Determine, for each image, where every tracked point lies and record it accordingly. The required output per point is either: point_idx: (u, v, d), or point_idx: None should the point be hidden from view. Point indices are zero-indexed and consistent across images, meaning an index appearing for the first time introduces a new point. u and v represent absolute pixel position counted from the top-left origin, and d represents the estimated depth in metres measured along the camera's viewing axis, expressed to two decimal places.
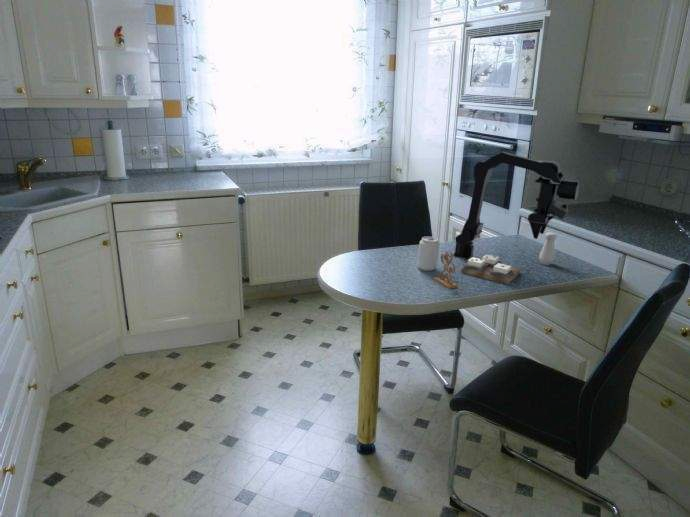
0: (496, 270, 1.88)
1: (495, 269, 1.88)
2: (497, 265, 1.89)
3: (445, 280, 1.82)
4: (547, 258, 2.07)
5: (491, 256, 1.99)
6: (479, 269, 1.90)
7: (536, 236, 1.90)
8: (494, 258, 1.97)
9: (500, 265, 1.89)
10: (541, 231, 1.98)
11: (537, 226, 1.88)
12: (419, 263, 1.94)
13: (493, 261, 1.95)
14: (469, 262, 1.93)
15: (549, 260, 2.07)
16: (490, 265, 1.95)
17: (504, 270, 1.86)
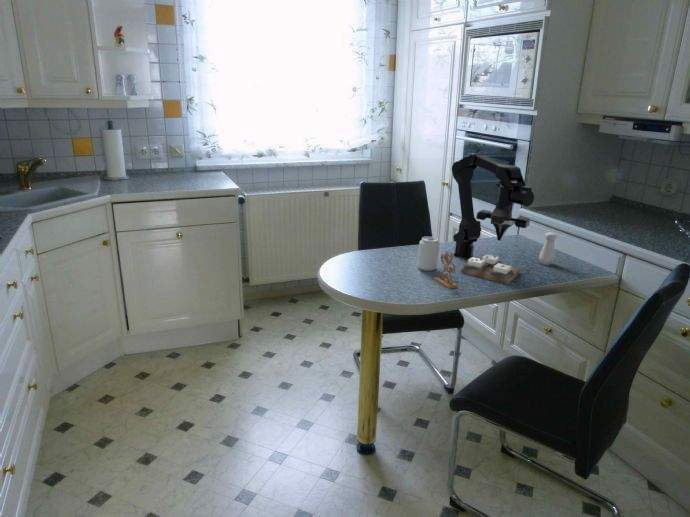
0: (496, 270, 1.88)
1: (495, 269, 1.88)
2: (497, 265, 1.89)
3: (445, 280, 1.82)
4: (547, 258, 2.07)
5: (491, 256, 1.99)
6: (479, 269, 1.90)
7: None
8: (494, 258, 1.97)
9: (500, 265, 1.89)
10: None
11: None
12: (419, 263, 1.94)
13: (493, 261, 1.95)
14: (469, 262, 1.93)
15: (549, 260, 2.07)
16: (490, 265, 1.95)
17: (504, 270, 1.86)
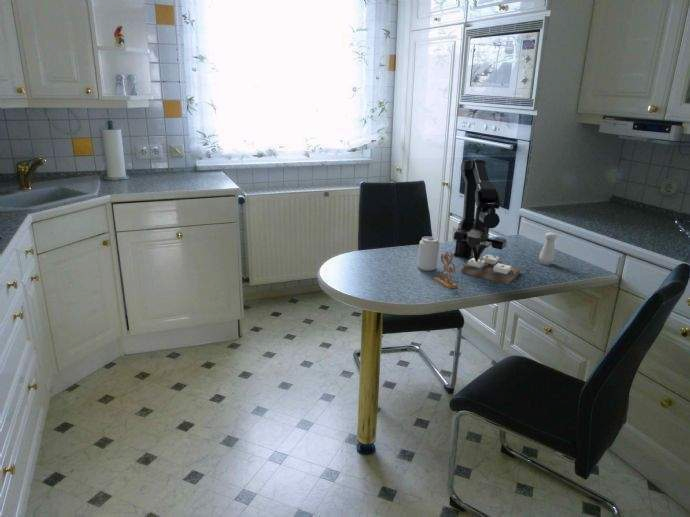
0: (496, 270, 1.88)
1: (495, 269, 1.88)
2: (497, 265, 1.89)
3: (445, 280, 1.82)
4: (547, 258, 2.07)
5: (491, 256, 1.99)
6: (479, 269, 1.90)
7: None
8: (494, 258, 1.97)
9: (500, 265, 1.89)
10: None
11: None
12: (419, 263, 1.94)
13: (493, 261, 1.95)
14: (469, 263, 1.93)
15: (549, 260, 2.07)
16: (490, 265, 1.95)
17: (504, 270, 1.86)
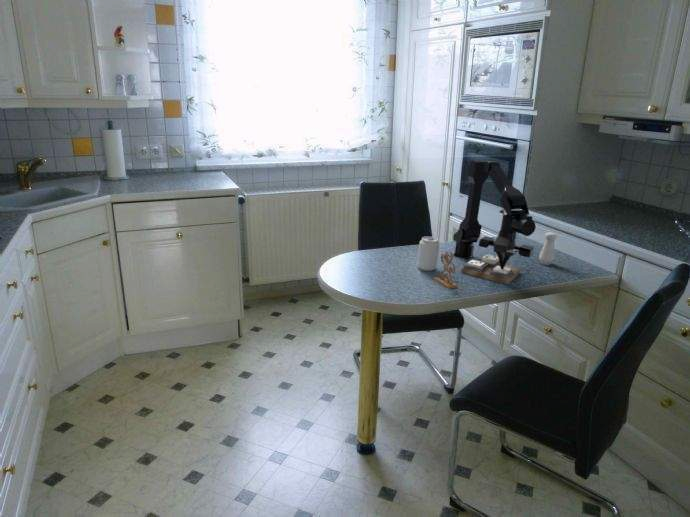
0: None
1: None
2: (497, 267, 1.89)
3: (445, 280, 1.82)
4: (547, 258, 2.07)
5: (491, 256, 1.99)
6: (479, 269, 1.90)
7: None
8: (494, 258, 1.97)
9: (500, 267, 1.90)
10: None
11: None
12: (419, 263, 1.94)
13: (493, 261, 1.95)
14: None
15: (549, 260, 2.07)
16: (490, 265, 1.95)
17: (503, 272, 1.86)
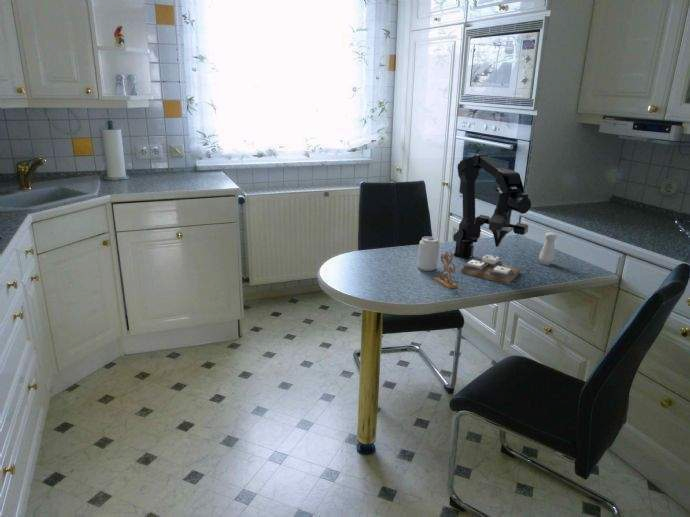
0: None
1: None
2: (497, 268, 1.90)
3: (445, 280, 1.82)
4: (547, 258, 2.07)
5: (491, 256, 1.99)
6: (479, 269, 1.90)
7: None
8: (494, 258, 1.97)
9: (500, 268, 1.90)
10: None
11: None
12: (419, 263, 1.94)
13: (493, 261, 1.95)
14: None
15: (549, 260, 2.07)
16: (490, 265, 1.95)
17: (503, 272, 1.86)
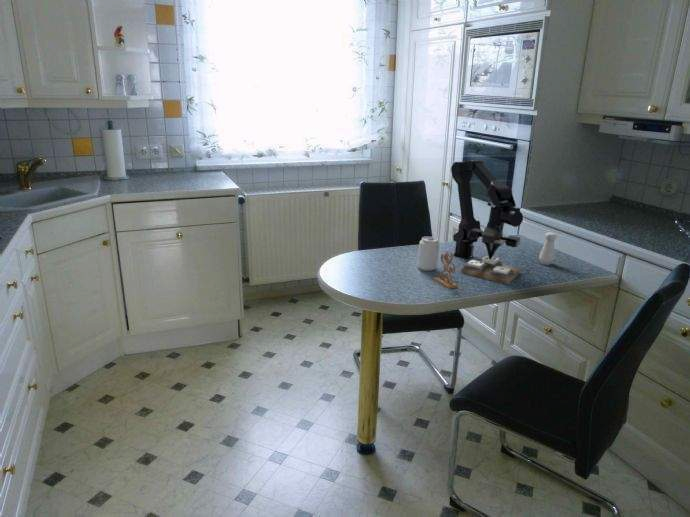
0: None
1: None
2: (497, 268, 1.90)
3: (445, 280, 1.82)
4: (547, 258, 2.07)
5: None
6: (479, 269, 1.90)
7: None
8: (494, 259, 1.97)
9: (500, 268, 1.90)
10: None
11: None
12: (419, 263, 1.94)
13: (493, 262, 1.96)
14: None
15: (549, 260, 2.07)
16: (490, 265, 1.95)
17: (503, 272, 1.86)
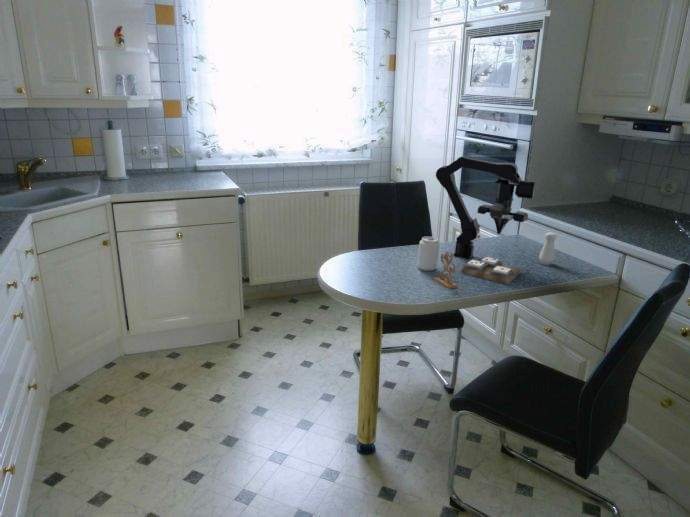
0: None
1: None
2: (497, 268, 1.90)
3: (445, 280, 1.82)
4: (547, 258, 2.07)
5: (491, 258, 1.99)
6: (479, 269, 1.90)
7: None
8: (494, 261, 1.97)
9: (500, 268, 1.90)
10: None
11: None
12: (419, 263, 1.94)
13: None
14: None
15: (549, 260, 2.07)
16: (490, 265, 1.95)
17: (503, 272, 1.86)
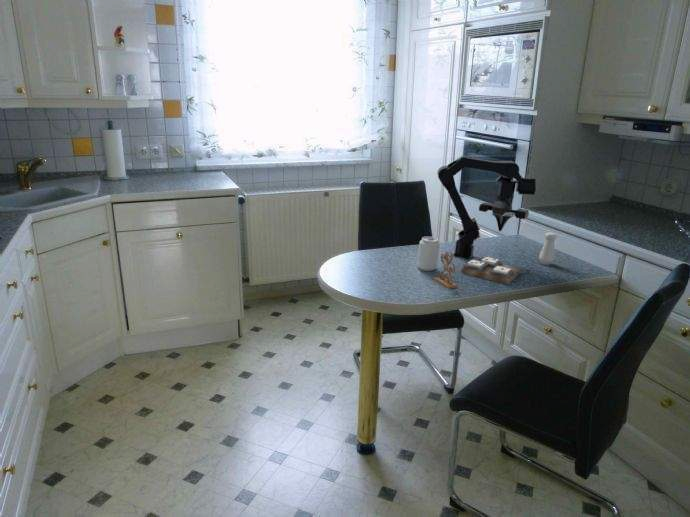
0: None
1: None
2: (497, 268, 1.90)
3: (445, 280, 1.82)
4: (547, 258, 2.07)
5: (491, 258, 1.99)
6: (479, 269, 1.90)
7: None
8: (494, 261, 1.97)
9: (500, 268, 1.90)
10: None
11: None
12: (419, 263, 1.94)
13: None
14: None
15: (549, 260, 2.07)
16: (490, 265, 1.95)
17: (503, 272, 1.86)
